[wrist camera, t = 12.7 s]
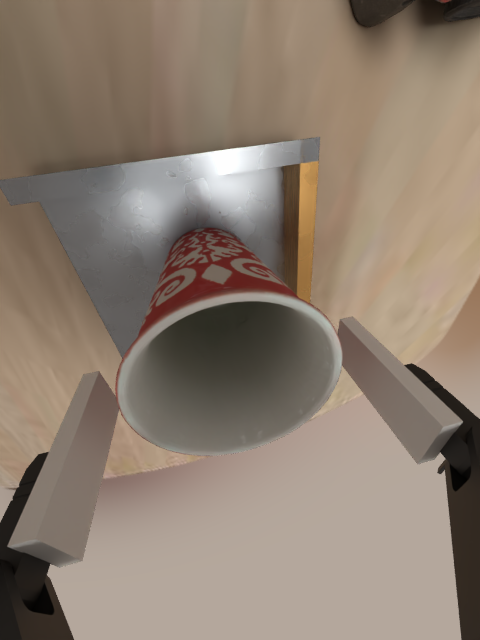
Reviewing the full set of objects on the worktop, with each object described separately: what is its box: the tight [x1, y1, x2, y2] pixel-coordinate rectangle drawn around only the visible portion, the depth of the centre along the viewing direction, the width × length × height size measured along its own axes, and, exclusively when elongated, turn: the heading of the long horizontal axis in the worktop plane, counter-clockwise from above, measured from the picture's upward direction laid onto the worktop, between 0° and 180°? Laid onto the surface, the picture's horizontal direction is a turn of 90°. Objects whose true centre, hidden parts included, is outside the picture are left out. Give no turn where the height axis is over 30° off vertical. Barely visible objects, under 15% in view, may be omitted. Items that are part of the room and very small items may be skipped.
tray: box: [0, 137, 320, 358], centre depth 21 cm, size 20×18×4 cm
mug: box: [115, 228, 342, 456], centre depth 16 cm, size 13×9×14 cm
